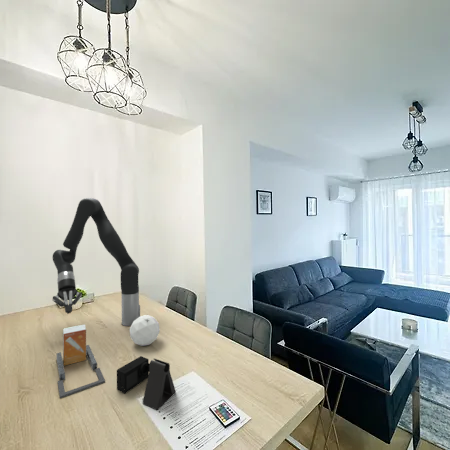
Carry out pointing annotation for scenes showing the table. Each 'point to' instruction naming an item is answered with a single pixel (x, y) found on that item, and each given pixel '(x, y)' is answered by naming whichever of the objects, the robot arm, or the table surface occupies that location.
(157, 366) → the phone stand
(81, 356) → the small box
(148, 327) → the geodesic sphere
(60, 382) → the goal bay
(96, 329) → the table surface
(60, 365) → the grey u-shaped frame
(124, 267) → the robot arm
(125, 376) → the digital camera
